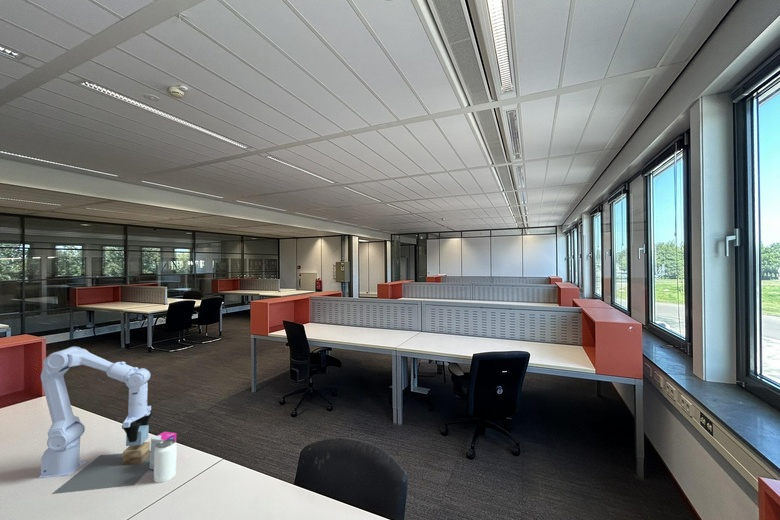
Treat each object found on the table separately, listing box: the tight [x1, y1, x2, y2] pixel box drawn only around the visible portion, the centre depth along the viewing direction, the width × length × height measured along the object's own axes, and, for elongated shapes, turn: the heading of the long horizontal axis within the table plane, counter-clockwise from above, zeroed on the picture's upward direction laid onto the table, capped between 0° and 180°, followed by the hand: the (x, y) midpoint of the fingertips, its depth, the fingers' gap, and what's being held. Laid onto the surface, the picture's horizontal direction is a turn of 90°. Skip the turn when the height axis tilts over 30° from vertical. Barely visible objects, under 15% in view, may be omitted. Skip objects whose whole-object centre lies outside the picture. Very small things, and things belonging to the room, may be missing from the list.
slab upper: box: [122, 441, 151, 459], centre depth 122 cm, size 6×6×2 cm
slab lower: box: [123, 448, 151, 465], centre depth 122 cm, size 6×6×2 cm
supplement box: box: [149, 431, 177, 471], centre depth 118 cm, size 6×6×12 cm
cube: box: [125, 424, 150, 447], centre depth 122 cm, size 5×5×5 cm
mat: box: [51, 452, 150, 495], centre depth 116 cm, size 24×22×1 cm
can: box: [153, 439, 178, 483], centre depth 112 cm, size 6×6×12 cm
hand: (137, 437), depth 122 cm, fingers closed on cube, 5 cm apart
